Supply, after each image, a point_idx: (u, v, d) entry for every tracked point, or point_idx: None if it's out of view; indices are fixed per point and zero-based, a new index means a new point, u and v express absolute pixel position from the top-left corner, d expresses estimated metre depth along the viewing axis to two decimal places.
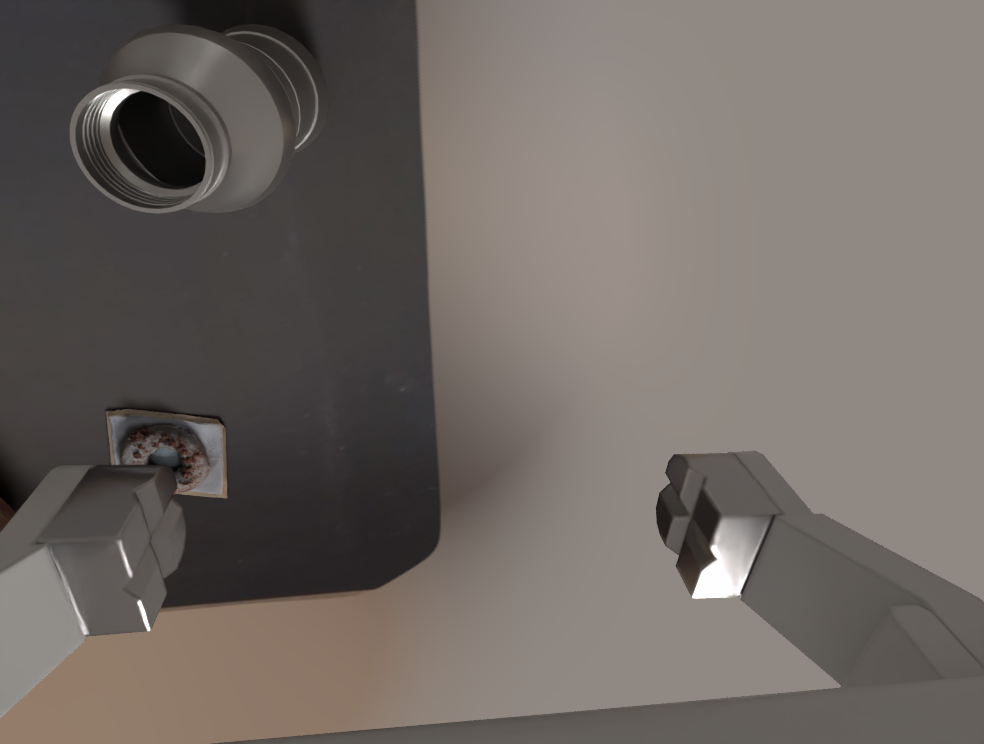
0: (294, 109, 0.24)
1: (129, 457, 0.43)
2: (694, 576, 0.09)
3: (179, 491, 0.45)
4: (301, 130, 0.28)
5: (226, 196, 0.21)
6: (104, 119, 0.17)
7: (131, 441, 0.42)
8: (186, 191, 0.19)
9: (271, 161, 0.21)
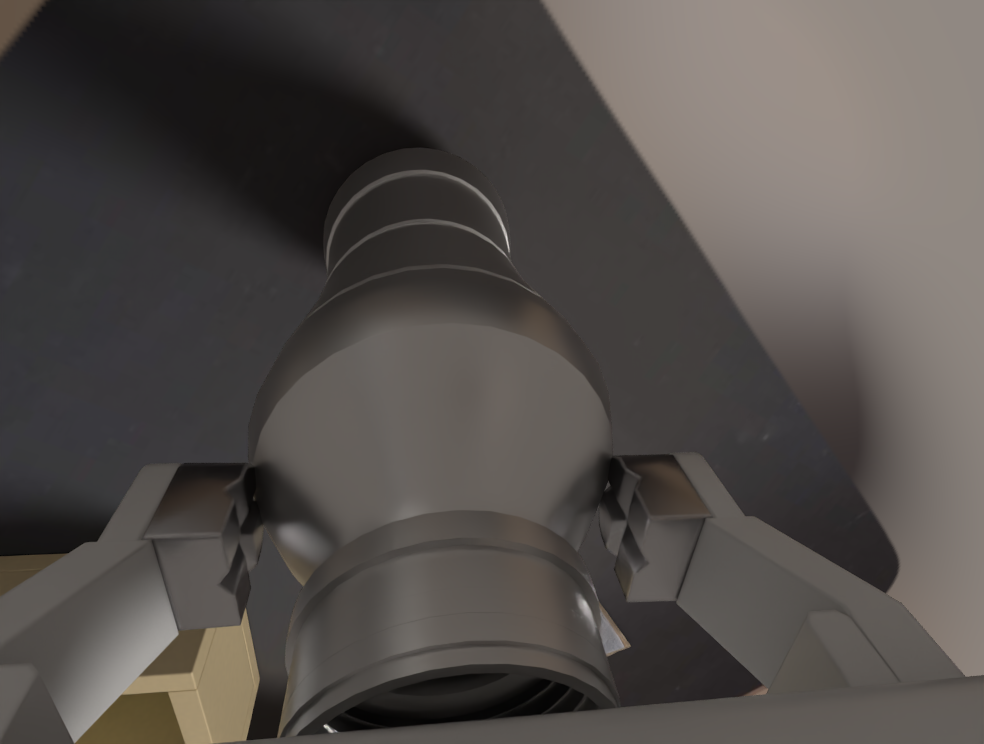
0: (521, 278, 0.13)
1: None
2: (628, 580, 0.09)
3: None
4: None
5: None
6: None
7: None
8: None
9: (603, 447, 0.09)
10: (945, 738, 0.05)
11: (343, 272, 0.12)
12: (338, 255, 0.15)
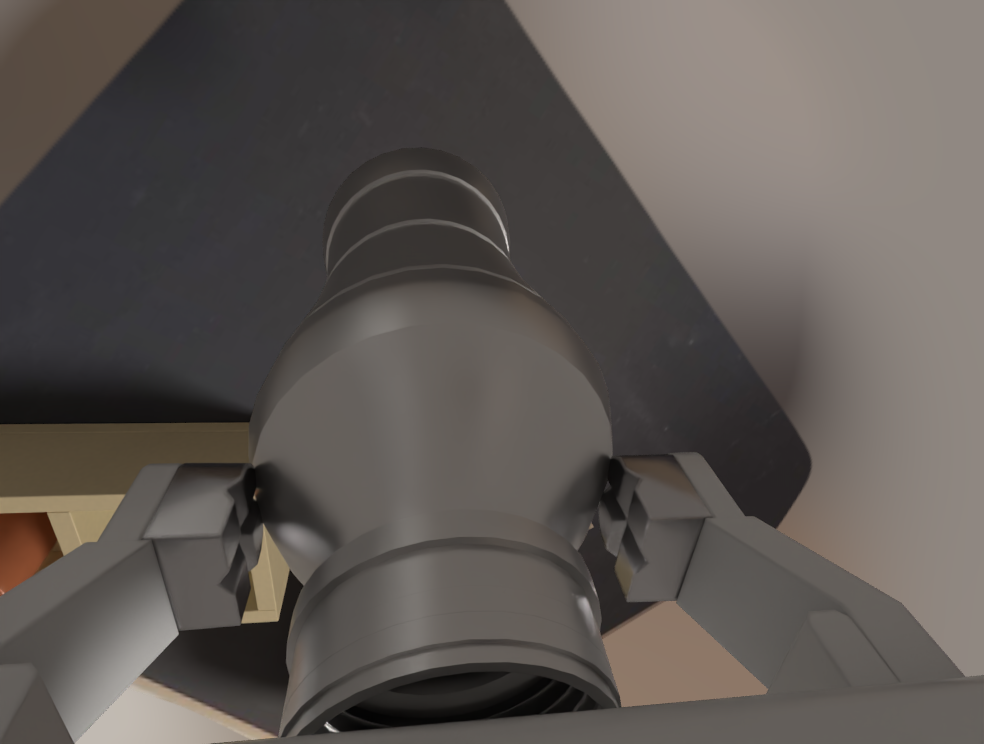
0: None
1: None
2: (628, 581, 0.09)
3: None
4: None
5: None
6: None
7: None
8: None
9: (602, 446, 0.09)
10: (945, 738, 0.05)
11: (343, 272, 0.12)
12: (338, 255, 0.15)
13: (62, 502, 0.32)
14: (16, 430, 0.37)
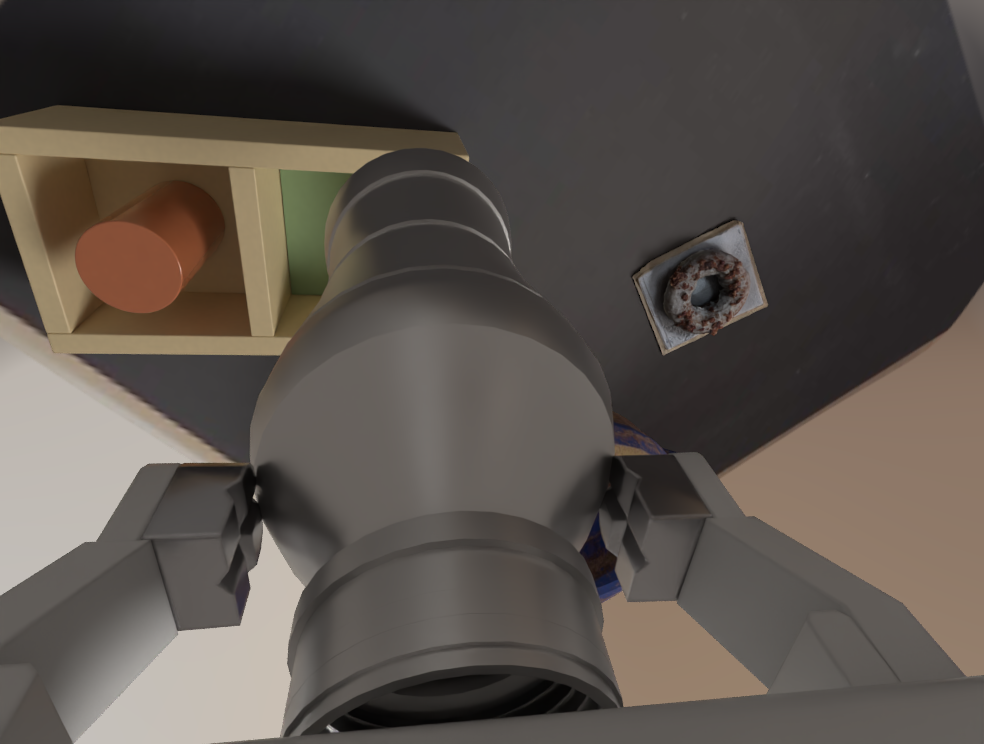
0: (522, 278, 0.13)
1: (679, 303, 0.41)
2: (628, 580, 0.09)
3: (733, 315, 0.42)
4: None
5: None
6: None
7: (674, 286, 0.40)
8: None
9: (605, 448, 0.09)
10: (945, 738, 0.05)
11: (345, 272, 0.12)
12: (339, 255, 0.15)
13: (248, 152, 0.27)
14: (167, 114, 0.32)
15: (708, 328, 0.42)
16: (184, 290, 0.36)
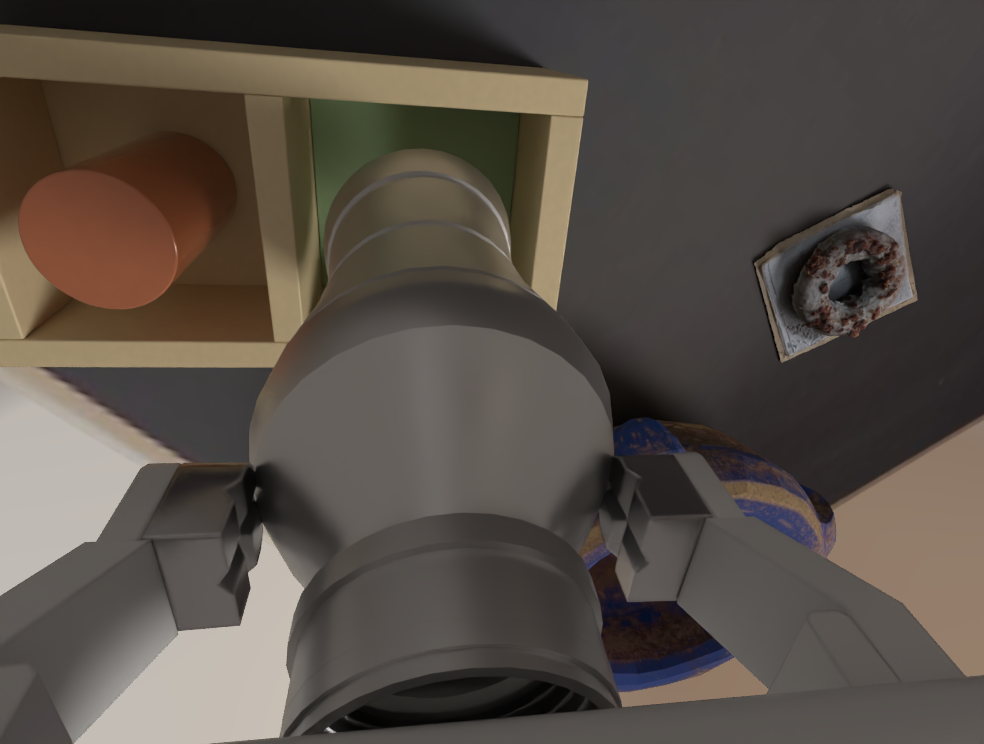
0: None
1: (816, 297, 0.32)
2: (629, 580, 0.09)
3: (881, 311, 0.33)
4: None
5: None
6: None
7: (811, 274, 0.31)
8: None
9: (604, 449, 0.09)
10: (945, 738, 0.05)
11: (344, 273, 0.12)
12: (339, 256, 0.15)
13: (273, 71, 0.19)
14: (159, 37, 0.23)
15: (848, 328, 0.33)
16: (182, 281, 0.28)
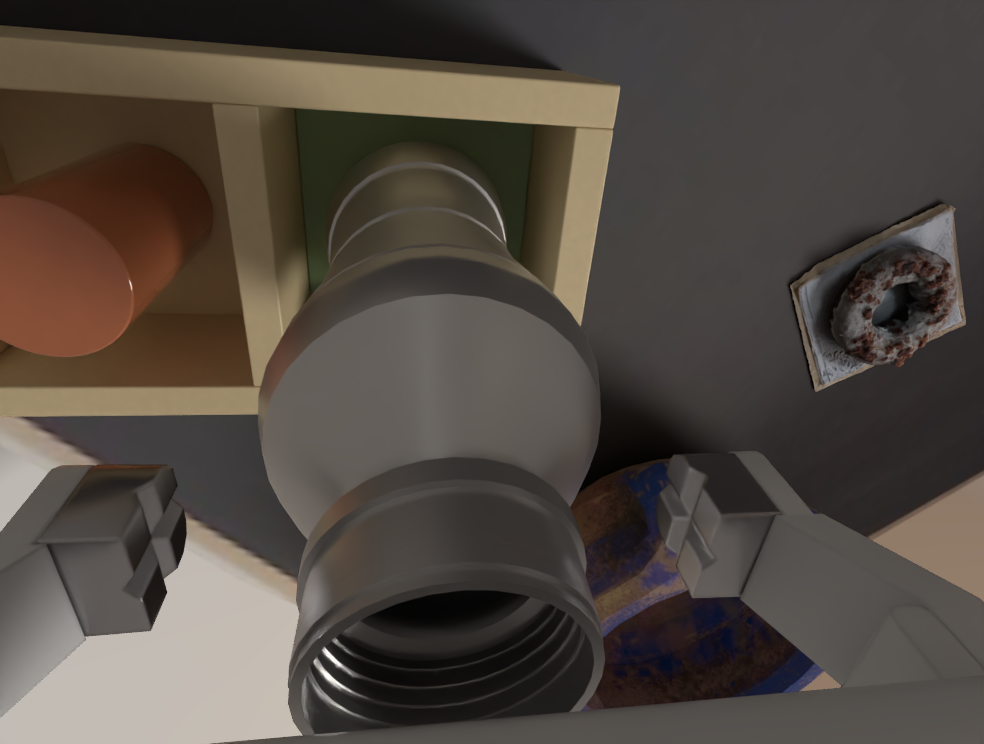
0: None
1: (858, 323, 0.29)
2: (694, 577, 0.09)
3: (929, 338, 0.30)
4: None
5: None
6: None
7: (854, 299, 0.28)
8: (527, 609, 0.09)
9: (590, 413, 0.10)
10: (945, 738, 0.05)
11: (346, 255, 0.13)
12: (340, 242, 0.16)
13: (247, 76, 0.16)
14: (120, 35, 0.20)
15: (893, 357, 0.30)
16: (154, 311, 0.25)
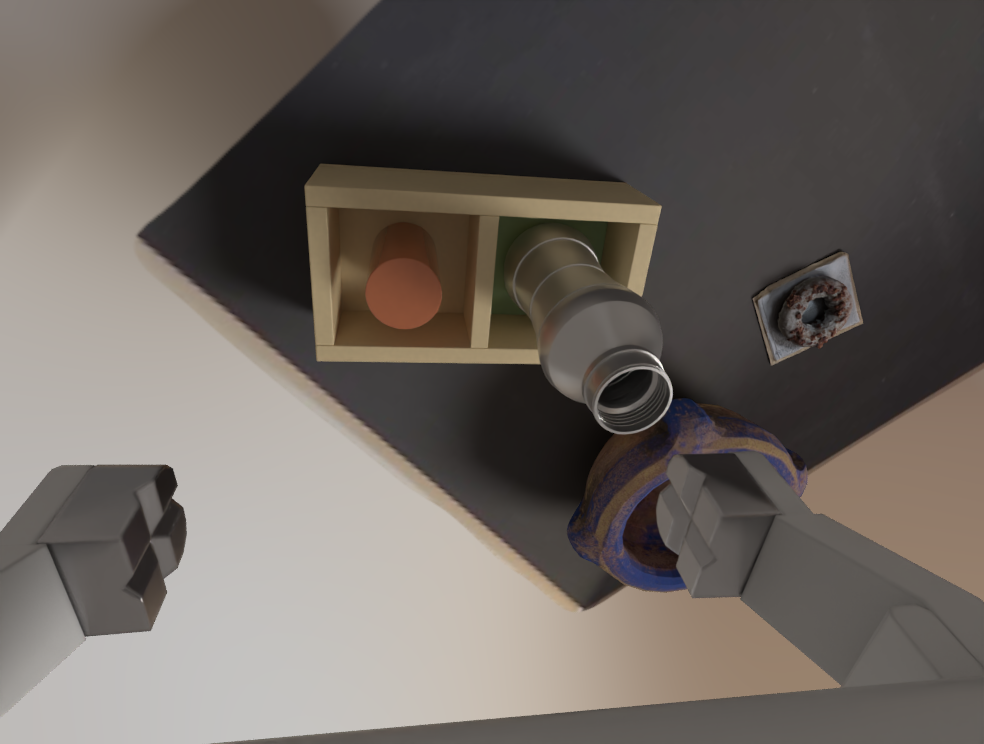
0: None
1: (793, 321, 0.48)
2: (694, 577, 0.09)
3: (837, 331, 0.49)
4: None
5: None
6: None
7: (790, 306, 0.48)
8: (644, 398, 0.28)
9: (660, 341, 0.29)
10: (945, 738, 0.05)
11: (557, 285, 0.32)
12: (536, 277, 0.36)
13: (497, 204, 0.35)
14: (407, 170, 0.40)
15: (815, 342, 0.49)
16: None
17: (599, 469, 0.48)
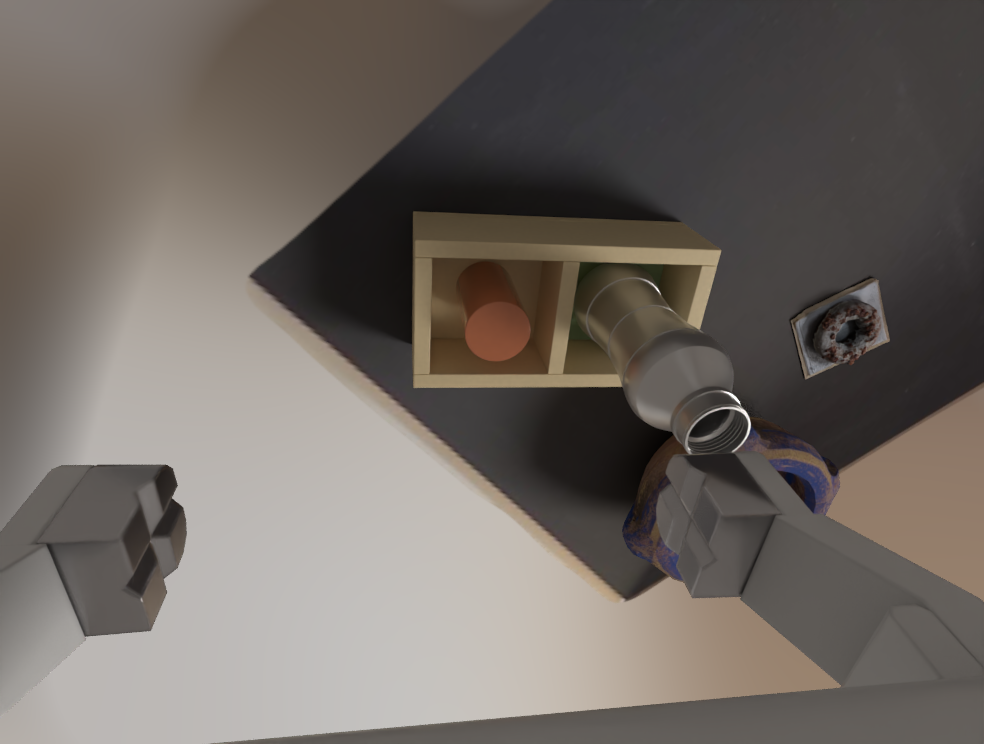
0: None
1: (827, 341, 0.53)
2: (694, 577, 0.09)
3: (867, 349, 0.54)
4: None
5: None
6: None
7: (825, 328, 0.53)
8: (721, 429, 0.33)
9: (733, 378, 0.34)
10: (945, 738, 0.05)
11: (637, 326, 0.37)
12: (612, 316, 0.41)
13: (579, 252, 0.40)
14: (490, 216, 0.44)
15: (847, 359, 0.54)
16: None
17: (653, 477, 0.53)
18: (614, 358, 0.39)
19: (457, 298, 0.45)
